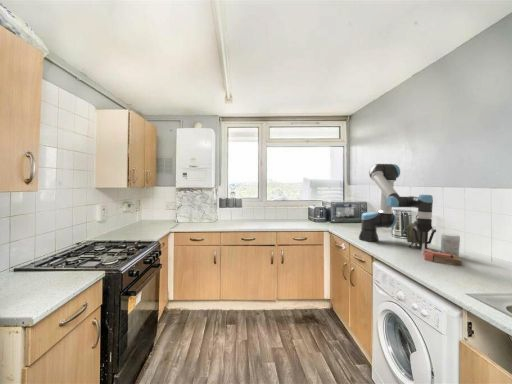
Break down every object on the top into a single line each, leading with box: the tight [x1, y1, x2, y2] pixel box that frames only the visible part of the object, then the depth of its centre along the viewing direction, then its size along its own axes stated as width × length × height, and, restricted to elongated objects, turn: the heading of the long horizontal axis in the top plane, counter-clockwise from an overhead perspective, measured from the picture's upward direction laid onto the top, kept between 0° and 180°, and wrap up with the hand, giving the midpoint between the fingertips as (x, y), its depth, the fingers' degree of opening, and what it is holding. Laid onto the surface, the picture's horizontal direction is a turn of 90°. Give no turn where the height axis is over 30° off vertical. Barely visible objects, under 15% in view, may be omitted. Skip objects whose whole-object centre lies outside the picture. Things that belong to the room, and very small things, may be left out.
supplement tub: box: [440, 232, 461, 257], centre depth 154 cm, size 10×10×15 cm
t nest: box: [432, 250, 463, 267], centre depth 144 cm, size 14×13×3 cm
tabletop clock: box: [406, 214, 429, 249], centre depth 172 cm, size 14×9×25 cm, turn 124°
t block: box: [423, 248, 451, 262], centre depth 147 cm, size 13×13×4 cm
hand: (422, 253), depth 151 cm, fingers closed
